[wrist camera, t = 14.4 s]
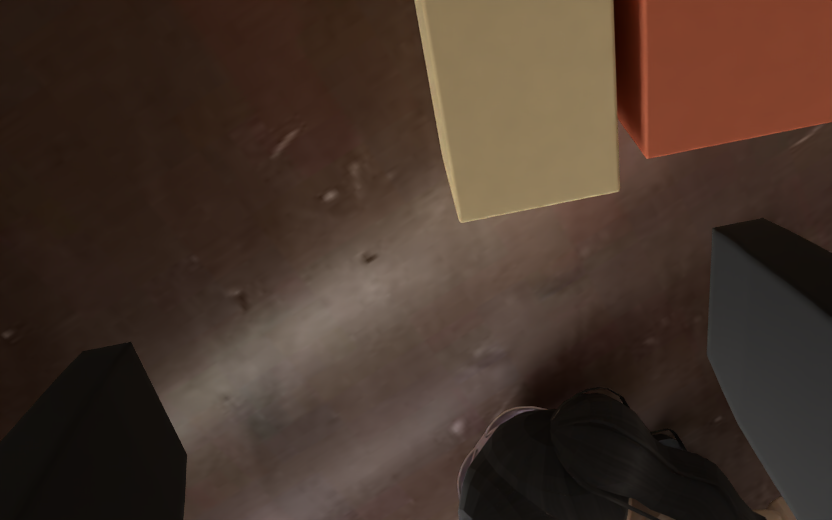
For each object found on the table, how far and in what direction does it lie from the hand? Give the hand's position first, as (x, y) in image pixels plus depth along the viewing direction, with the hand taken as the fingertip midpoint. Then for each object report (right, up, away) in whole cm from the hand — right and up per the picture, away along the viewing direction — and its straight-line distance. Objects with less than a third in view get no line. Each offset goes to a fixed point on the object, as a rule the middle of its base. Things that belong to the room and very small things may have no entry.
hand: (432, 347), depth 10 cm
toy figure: (+7, -6, +16) cm, 19 cm away
